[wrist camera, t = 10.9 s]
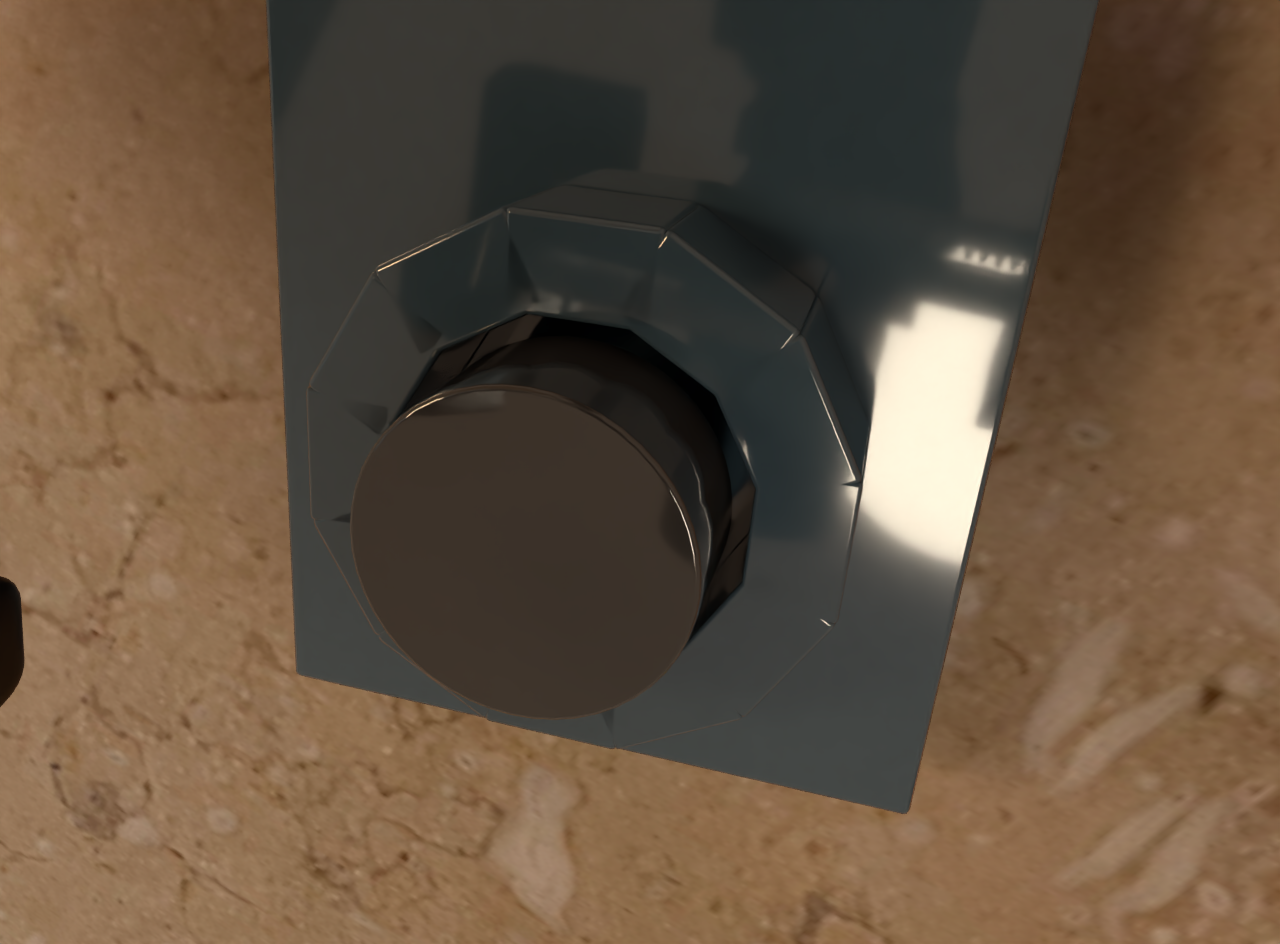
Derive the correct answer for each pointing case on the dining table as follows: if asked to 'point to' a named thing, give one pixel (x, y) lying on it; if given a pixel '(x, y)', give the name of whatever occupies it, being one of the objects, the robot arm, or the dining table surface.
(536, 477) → the dark rotary knob
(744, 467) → the knob base
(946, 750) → the dining table surface
